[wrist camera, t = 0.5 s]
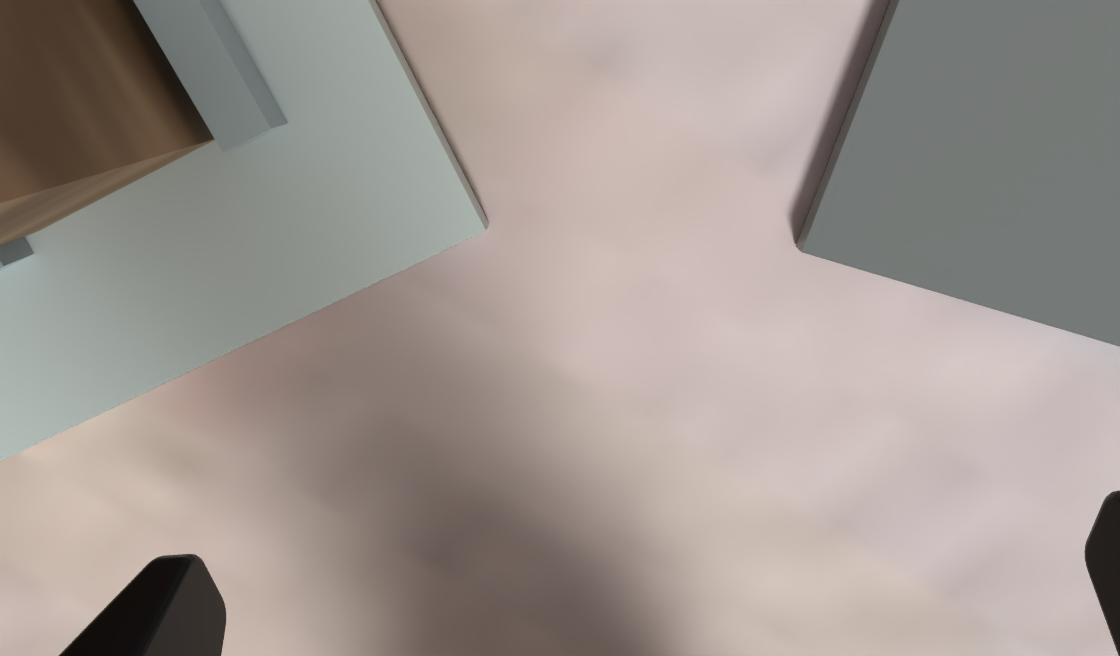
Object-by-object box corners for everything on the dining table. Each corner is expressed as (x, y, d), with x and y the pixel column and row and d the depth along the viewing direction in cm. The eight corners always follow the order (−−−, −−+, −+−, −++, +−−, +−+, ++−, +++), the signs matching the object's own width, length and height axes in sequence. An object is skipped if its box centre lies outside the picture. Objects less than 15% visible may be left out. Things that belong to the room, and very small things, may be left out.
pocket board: (489, 223, 22) (480, 242, 20) (17, 447, 24) (-31, 484, 22) (167, -407, 18) (119, -459, 16) (-362, -72, 20) (-462, -84, 18)
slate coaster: (1172, 358, 22) (1187, 366, 22) (795, 245, 22) (801, 252, 21) (1399, -59, 19) (1424, -63, 19) (970, -206, 19) (982, -214, 18)
